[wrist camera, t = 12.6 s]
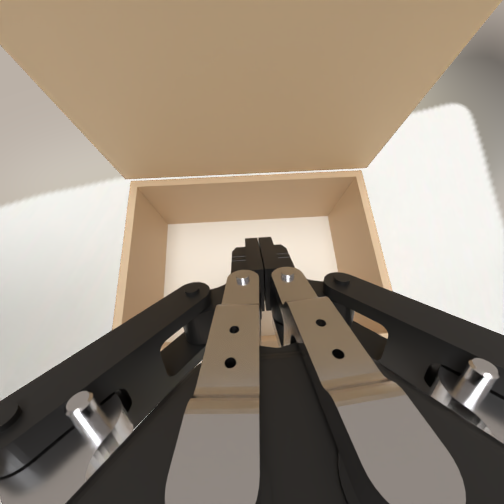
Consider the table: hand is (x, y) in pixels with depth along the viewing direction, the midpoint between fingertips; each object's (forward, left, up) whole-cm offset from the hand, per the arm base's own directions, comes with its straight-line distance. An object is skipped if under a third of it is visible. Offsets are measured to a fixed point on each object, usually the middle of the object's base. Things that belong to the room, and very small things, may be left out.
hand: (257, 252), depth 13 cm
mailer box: (0, +1, -12) cm, 12 cm away
